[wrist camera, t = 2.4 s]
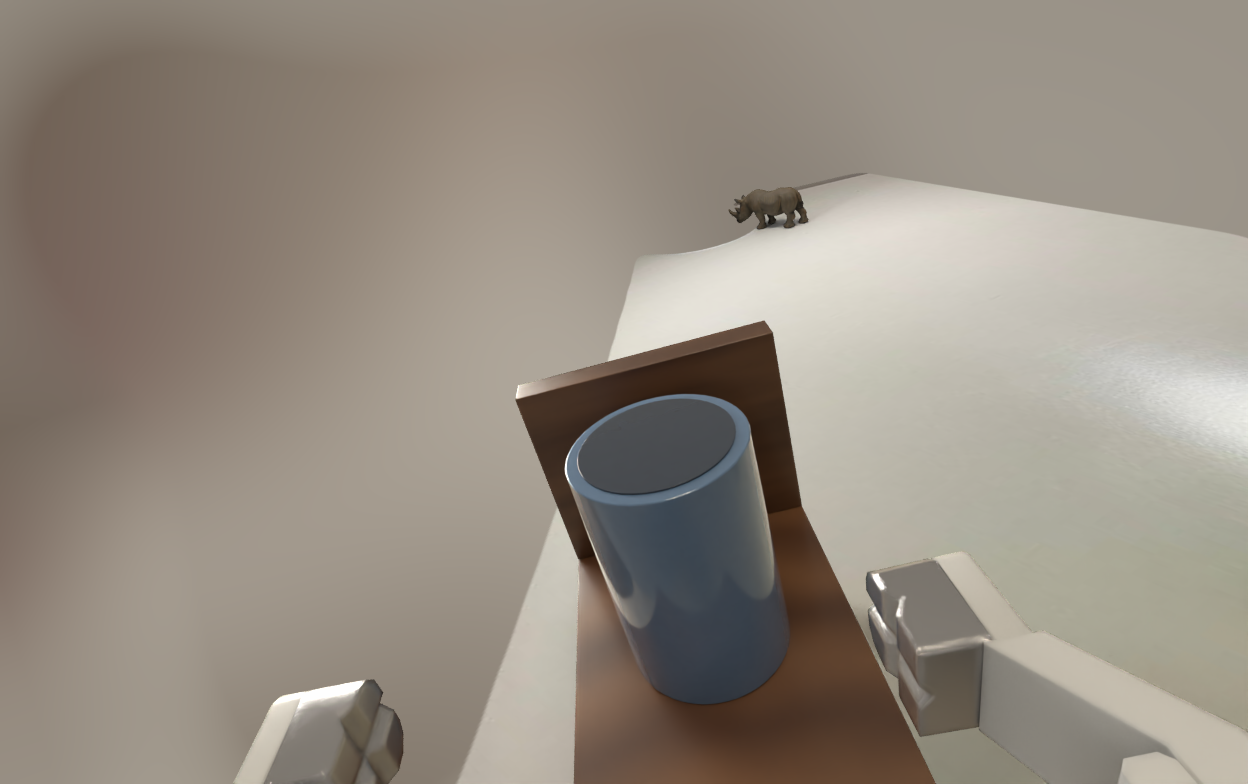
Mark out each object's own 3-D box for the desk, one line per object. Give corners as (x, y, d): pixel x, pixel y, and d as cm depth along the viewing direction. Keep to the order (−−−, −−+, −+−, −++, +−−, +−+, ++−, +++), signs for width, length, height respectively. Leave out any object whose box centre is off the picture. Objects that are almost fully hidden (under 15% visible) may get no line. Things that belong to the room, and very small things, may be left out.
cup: (754, 730, 23) (697, 519, 18) (604, 672, 27) (526, 486, 22) (812, 593, 28) (778, 397, 23) (677, 560, 32) (625, 387, 27)
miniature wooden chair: (947, 917, 23) (928, 558, 15) (633, 975, 24) (455, 666, 16) (812, 594, 38) (764, 319, 29) (616, 639, 38) (518, 385, 30)
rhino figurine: (738, 222, 111) (732, 188, 108) (812, 219, 101) (807, 181, 99) (726, 231, 108) (719, 196, 105) (800, 228, 99) (795, 189, 96)
